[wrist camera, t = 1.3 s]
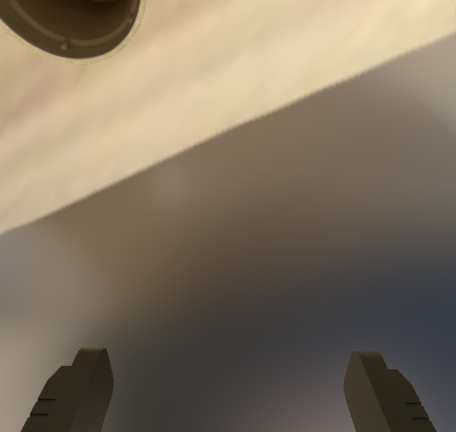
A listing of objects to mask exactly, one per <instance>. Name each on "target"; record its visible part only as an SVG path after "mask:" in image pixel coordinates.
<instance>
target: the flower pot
mask: <svg viewBox="0 0 456 432" xmlns="http://www.w3.org/2000/svg"><path fill="white" fill-rule="evenodd" d="M145 6H146V0H0V25H1V26H2V27H3V29H4V30H5V31H7V32H8V33H9V34H10V35H11V36H12V37H14V38H15V39H16V40H17V41H19V42H20V43H21V44H23V45H24V46H26V47H28V48H29V49H31V50H32V51H35V52H37V53H38V54H41V55H43V56H45V57H47V58H50V59H53V60H56V61H60V62H65V63H72V64H91V63H96V62H100V61H103V60H106V59H108V58H110V57H112V56H114V55H116V54H117V53H119V52H120V51H121V50H122V49H123V48H125V47H126V46H127V45H128V43H129V42H130V41H131V40H132V38H133V37H134V35H135V34H136V32H137V30H138V28H139V26H140V24H141V21H142V18H143V15H144V11H145Z"/></svg>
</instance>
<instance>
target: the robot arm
mask: <svg viewBox="0 0 456 432" xmlns="http://www.w3.org/2000/svg"><path fill="white" fill-rule="evenodd" d="M113 384H114V379H113V373H112V369H111V365H110V360H109V356H108V352H107V349H106V348H81V349H80V350H79V351H78V353H77V355H76V357H75V359H74V361H73V363H72V366H61V367H60V368H59V369H58V370H57V371H56V372H55V373H54V374H53V375H52V376H51V377H50V378H49V380H48V381H47V382H46V384H45V386H44V388H43V390H42V392H41V394H40V396H39V397H38V401H37V402H36V403H35V405H34V407H33V409H32V411H31V413H30V417H29V418H28V419H27V421H26V422H25V424H24V426H23V429H22V430H21V432H101V429H102V425H103V422H104V419H105V416H106V413H107V410H108V406H109V403H110V400H111V397H112V393H113ZM344 393H345V398H346V402H347V405H348V408H349V411H350V414H351V417H352V420H353V423H354V426H355V429H356V432H436V430H435V428H434V426H433V424H432V422H431V421H429V417H428V415H427V413H426V411H425V409H424V407H423V406H422V405H421V402H420V400H419V398H418V396H417V394H416V392H415V390H414V388H413V386H412V385H411V384H410V383H409V382H408V381H407V379H406V378H405V377H404V376H403V375H402V374H401V373H400V372H399V371H398V370H393V369H388V368H387V366H386V364H385V362H384V360H383V358H382V356H381V354H380V353H379V352H377V351H353V352H352V355H351V358H350V362H349V365H348V368H347V372H346V375H345V379H344Z"/></svg>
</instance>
